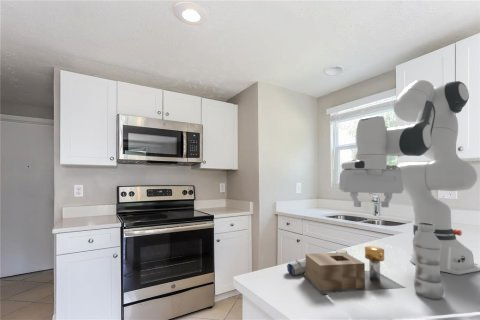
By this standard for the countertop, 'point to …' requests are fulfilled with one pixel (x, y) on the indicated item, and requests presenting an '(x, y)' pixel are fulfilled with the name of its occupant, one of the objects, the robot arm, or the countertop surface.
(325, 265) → the hitch block
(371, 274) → the brass knob
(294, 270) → the white handheld device
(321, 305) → the countertop surface
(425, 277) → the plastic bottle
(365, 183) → the robot arm
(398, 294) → the countertop surface
